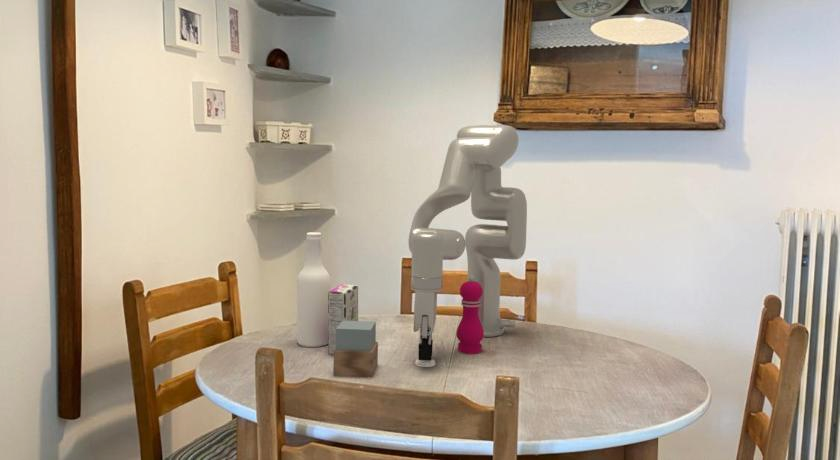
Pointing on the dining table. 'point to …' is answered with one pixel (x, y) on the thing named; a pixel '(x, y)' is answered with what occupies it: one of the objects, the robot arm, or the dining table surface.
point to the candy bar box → (341, 309)
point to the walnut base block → (356, 362)
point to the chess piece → (425, 362)
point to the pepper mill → (470, 318)
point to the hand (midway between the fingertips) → (425, 357)
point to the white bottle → (313, 296)
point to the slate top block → (356, 335)
